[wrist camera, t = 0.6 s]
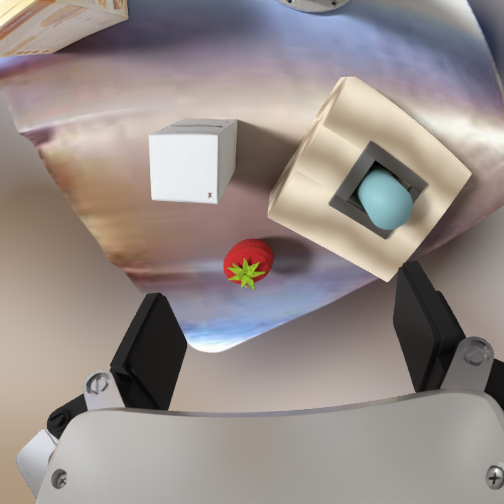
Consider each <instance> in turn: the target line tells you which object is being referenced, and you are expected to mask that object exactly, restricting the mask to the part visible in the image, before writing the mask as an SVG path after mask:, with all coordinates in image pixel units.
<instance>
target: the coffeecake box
mask: <svg viewBox="0 0 504 504" xmlns="http://www.w3.org/2000/svg"><path fill="white" fill-rule="evenodd" d="M128 19H129V17H128V7H127V0H0V58H3V57H11V56H21V55H33V54H52V53H54V52H56V51H58V50H60V49H62V48H64V47H66V46H68V45H70V44H72V43H74V42H76V41H78V40H80V39H82V38H84V37H86V36H89V35H91V34H93V33H95V32H98V31H100V30H102V29H105V28H107V27H110V26H112V25H115V24H117V23H120V22H122V21H125V20H128Z"/></svg>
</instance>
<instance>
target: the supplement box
mask: <svg viewBox="0 0 504 504" xmlns="http://www.w3.org/2000/svg"><path fill="white" fill-rule="evenodd" d="M236 143H237V120H215V119H183V120H181V121H179V122H176V123H174V124H172V125H169V126H167V127H165V128H163V129H161V130H159V131H157V132H155V133H153V134H150V135H149V151H150V172H151V193H152V199H153V200H159V201H179V202H195V203H210V204H218V203H219V202H220V200H221V198H222V195H223V193H224V191H225V189H226V187H227V185H228V183H229V181H230V179H231V177H232V175H233V173H234V171H235V164H236Z"/></svg>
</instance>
